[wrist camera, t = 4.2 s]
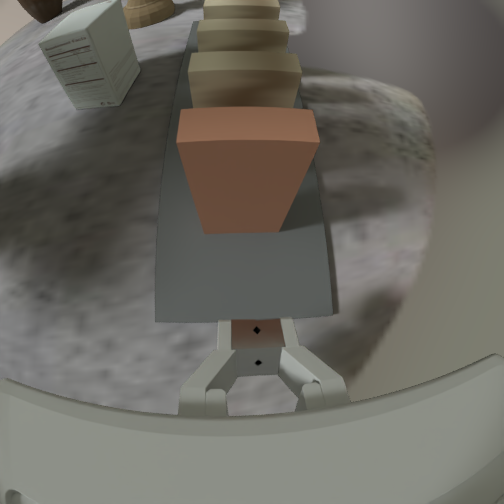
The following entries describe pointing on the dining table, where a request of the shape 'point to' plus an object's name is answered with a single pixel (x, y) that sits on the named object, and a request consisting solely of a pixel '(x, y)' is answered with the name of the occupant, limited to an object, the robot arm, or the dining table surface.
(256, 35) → the domino
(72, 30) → the supplement box
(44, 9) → the plant pot
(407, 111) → the dining table surface
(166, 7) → the oil lamp
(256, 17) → the domino
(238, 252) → the mat
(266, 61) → the domino
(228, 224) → the domino
